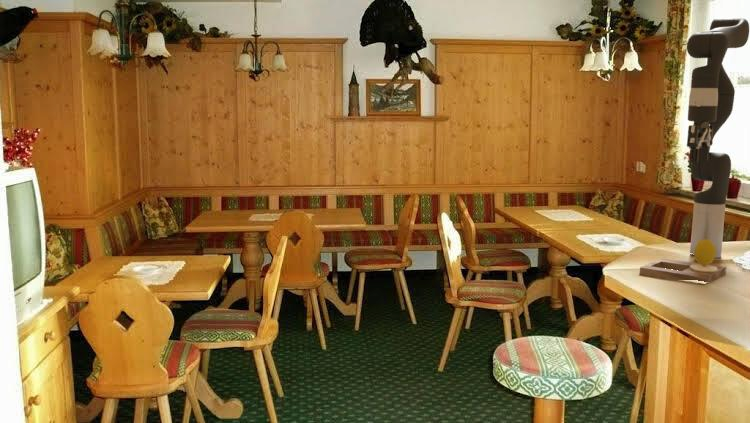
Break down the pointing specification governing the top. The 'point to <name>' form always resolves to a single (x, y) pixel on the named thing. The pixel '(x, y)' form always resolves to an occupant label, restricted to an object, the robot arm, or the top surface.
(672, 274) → the pocket board
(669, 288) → the top surface
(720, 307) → the top surface
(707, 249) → the lemon
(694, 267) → the saucer
